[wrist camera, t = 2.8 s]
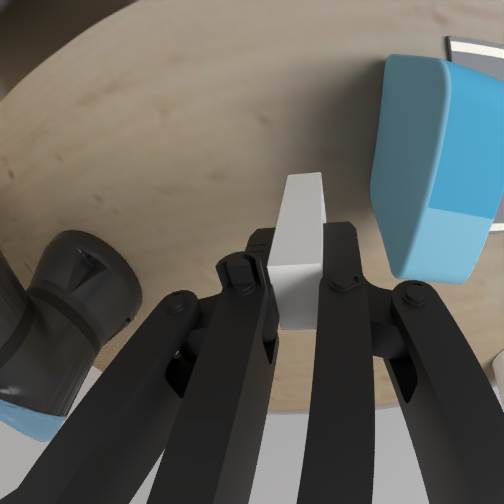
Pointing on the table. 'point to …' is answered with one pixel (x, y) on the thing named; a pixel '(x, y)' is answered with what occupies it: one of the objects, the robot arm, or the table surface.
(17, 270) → the table surface
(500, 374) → the pill bottle
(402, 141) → the light blue flat block
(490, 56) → the mat
